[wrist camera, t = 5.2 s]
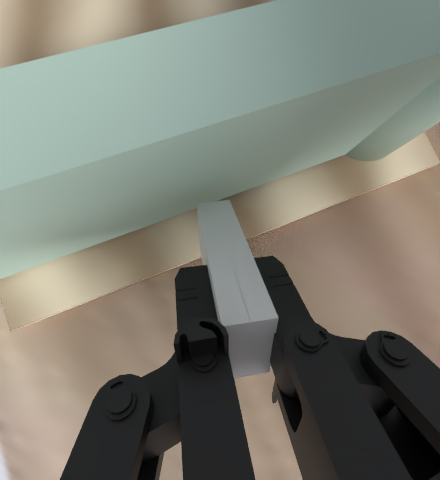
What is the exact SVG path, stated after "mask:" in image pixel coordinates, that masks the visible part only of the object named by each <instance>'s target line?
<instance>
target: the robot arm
mask: <svg viewBox="0 0 440 480" xmlns="http://www.w3.org/2000/svg"><path fill="white" fill-rule="evenodd" d="M197 216H198V229H199V242H200V253H201V258H202V264H203V265H202V266H194V267H186V268H180V270H179V272H178V274H177V276H176V278H175V290H176V310H177V329H178V331H177V333H176V334H175V340H174V348H175V353H174V354H173V356H172V358H171V359H170V360H169V361H168V362H167V363H166V364H165V365H163V366H162V367H160V368H159V369H157V370H155V371H153V372H151V373H149V374H147V375H145V376H143V377H139V376H136V375H132V374H126V375H119V376H117V377H115V378H113V379H111V380H109V381H108V382H107V383H106V384H105V385H104V386H103V387H102V388H101V389H99V391H98V393H97V394H96V396H95V398H94V399H93V401H92V404H91V406H90V408H89V411H88V413H87V416H86V418H85V420H84V423H83V425H82V428H81V430H80V433H79V435H78V437H77V440H76V442H75V445H74V447H73V449H72V452H71V454H70V457H69V459H68V461H67V464H66V466H65V469H64V471H63V473H62V476H61V478H60V480H159V476H160V471H161V466H162V461H163V456H164V452H165V451H167V450H168V449H170V448H171V447H173V446H174V445H176V444H178V443H179V442H181V445H182V465H183V480H255V476H254V471H253V466H252V462H251V457H250V452H249V447H248V443H247V438H246V433H245V429H244V424H243V419H242V414H241V410H240V405H239V400H238V396H237V391H236V386H235V381H234V378H238V377H244V376H249V375H255V374H261V373H266V372H269V370H270V364H271V366H272V369H273V372H274V375H275V382H274V387H273V392H272V401H273V403H276V401H277V399H278V402H279V405H280V408H281V412H282V415H283V418H284V421H285V424H286V427H287V431H288V434H289V437H290V440H291V443H292V446H293V450H294V453H295V456H296V459H297V462H298V465H299V469H300V472H301V475H302V478H303V480H440V368H438V367H437V366H436V365H435V364H434V363H433V362H432V361H431V360H430V359H428V358H427V357H426V356H425V355H424V354H423V353H422V352H421V351H420V350H418V349H417V348H416V347H415V346H414V345H413V344H412V343H410V342H409V341H408V340H406V339H405V338H403V337H402V336H400V335H397V334H395V333H392V332H388V331H377V332H373V333H372V334H370V335H369V336H368V337H367V339H366V341H365V340H358V339H351V338H344V337H339V336H335V335H332V334H330V333H328V331H327V330H326V329H325V328H323V327H322V326H320V325H319V324H317V323H315V322H314V320H313V319H312V318H311V316H310V314H309V312H308V310H307V308H306V306H305V304H304V303H303V301H302V299H301V297H300V295H299V293H298V291H297V289H296V288H295V286H294V285H293V282H292V280H291V278H290V277H289V274H288V273H287V271H286V269H285V267H284V265H283V264H282V263H281V262H280V261H279V260H277V259H276V258H275V257H274V256H268V257H260V258H254V257H253V255H252V253H251V250H250V248H249V245H248V243H247V241H246V238H245V236H244V233H243V231H242V229H241V226H240V224H239V221H238V219H237V216H236V214H235V212H234V209H233V207H232V204H231V202H230V200H223V201H212V202H202V203H197Z"/></svg>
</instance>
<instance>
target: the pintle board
mask: <svg viewBox="0 0 440 480" xmlns="http://www.w3.org/2000/svg"><path fill="white" fill-rule="evenodd" d="M271 1H275V0H0V68H4V67H9V66H13V65H17V64H21V63H25V62H29V61H33V60H37V59H41V58H45V57H49V56H53V55H57V54H61V53H65V52H69V51H73V50H77V49H81V48H85V47H89V46H93V45H97V44H101V43H106V42H110V41H114V40H118V39H122V38H126V37H130V36H134V35H138V34H142V33H146V32H150V31H154V30H158V29H162V28H166V27H170V26H174V25H178V24H182V23H186V22H190V21H194V20H199V19H203V18H207V17H211V16H215V15H219V14H223V13H227V12H231V11H235V10H239V9H243V8H247V7H251V6H255V5H259V4H263V3H267V2H271ZM439 163H440V161H439V159H438V157H437V155H436V153H435V151H434V149H433V148H432V146H431V144H430V142H429V140H428V138H427V136H426V134H425V132H423V133H422V134H420V135H419V136H417V137H415V138H414V139H412V140H411V141H409V142H408V143H406V144H405V145H403V146H401V147H400V148H398V149H397V150H395V151H394V152H392V153H390V154H389V155H387V156H386V157H384V158H382V159H379V160H376V161H360V160H356V159H353V158H351V157H349V156H347V155H343V156H340V157H337V158H334V159H331V160H329V161H326V162H323V163H320V164H318V165H315V166H312V167H309V168H307V169H304V170H301V171H298V172H296V173H293V174H290V175H287V176H284V177H282V178H279V179H276V180H273V181H271V182H268V183H265V184H262V185H260V186H257V187H254V188H251V189H248V190H246V191H243V192H240V193H237V194H235V195H232V196H229V197H226V198H224V199H221V200H218V201H223V200H230V202H231V204H232V207H233V209H234V212H235V214H236V216H237V219H238V221H239V224H240V226H241V229H242V231H243V233H244V236H245V238H246V240H247V239H250V238H252V237H255V236H257V235H260V234H262V233H265V232H268V231H270V230H273V229H275V228H278V227H280V226H283V225H285V224H288V223H290V222H293V221H296V220H298V219H301V218H303V217H306V216H308V215H311V214H313V213H316V212H319V211H321V210H324V209H326V208H329V207H331V206H334V205H336V204H339V203H341V202H344V201H347V200H349V199H352V198H354V197H357V196H359V195H362V194H364V193H367V192H370V191H372V190H375V189H377V188H380V187H382V186H385V185H387V184H390V183H392V182H395V181H398V180H400V179H403V178H405V177H408V176H410V175H413V174H415V173H418V172H421V171H423V170H426V169H428V168H430V167H433V166H435V165H437V164H439ZM199 258H201V253H200V242H199V229H198V216H197V208H196V209H193V210H190V211H188V212H185V213H182V214H179V215H176V216H174V217H171V218H168V219H165V220H163V221H160V222H157V223H154V224H152V225H149V226H146V227H143V228H141V229H138V230H135V231H132V232H129V233H127V234H124V235H121V236H118V237H116V238H113V239H110V240H107V241H105V242H102V243H99V244H96V245H93V246H91V247H88V248H85V249H82V250H80V251H77V252H74V253H71V254H69V255H66V256H63V257H60V258H57V259H55V260H52V261H49V262H46V263H44V264H41V265H38V266H35V267H33V268H30V269H27V270H24V271H21V272H19V273H16V274H13V275H10V276H8V277H5V278H2V279H0V299H1V303H2V306H3V309H4V312H5V315H6V319H7V322H8V325H9V328H10V331H13V330H16V329H20V328H23V327H25V326H28V325H30V324H33V323H36V322H38V321H41V320H43V319H46V318H48V317H51V316H53V315H56V314H58V313H61V312H64V311H66V310H69V309H71V308H74V307H76V306H79V305H81V304H84V303H87V302H89V301H92V300H94V299H97V298H99V297H102V296H104V295H107V294H109V293H112V292H115V291H117V290H120V289H122V288H125V287H127V286H130V285H132V284H135V283H137V282H140V281H143V280H145V279H148V278H150V277H153V276H155V275H158V274H160V273H163V272H166V271H168V270H171V269H173V268H176V267H178V266H181V265H183V264H186V263H188V262H191V261H194V260H196V259H199Z"/></svg>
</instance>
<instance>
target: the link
mask: <svg viewBox="0 0 440 480" xmlns="http://www.w3.org/2000/svg"><path fill="white" fill-rule="evenodd" d="M439 122H440V0H275V1H271V2H267V3H263V4H259V5H255V6H251V7H247V8H243V9H239V10H235V11H231V12H227V13H223V14H219V15H215V16H211V17H207V18H203V19H199V20H194V21H190V22H186V23H182V24H178V25H174V26H170V27H166V28H162V29H158V30H154V31H150V32H146V33H142V34H138V35H134V36H130V37H126V38H122V39H118V40H114V41H110V42H106V43H101V44H97V45H93V46H89V47H85V48H81V49H77V50H73V51H69V52H65V53H61V54H57V55H53V56H49V57H45V58H41V59H37V60H33V61H29V62H25V63H21V64H17V65H13V66H9V67H4V68H0V279H2V278H5V277H8V276H10V275H13V274H16V273H19V272H21V271H24V270H27V269H30V268H33V267H35V266H38V265H41V264H44V263H46V262H49V261H52V260H55V259H57V258H60V257H63V256H66V255H69V254H71V253H74V252H77V251H80V250H82V249H85V248H88V247H91V246H93V245H96V244H99V243H102V242H105V241H107V240H110V239H113V238H116V237H118V236H121V235H124V234H127V233H129V232H132V231H135V230H138V229H141V228H143V227H146V226H149V225H152V224H154V223H157V222H160V221H163V220H165V219H168V218H171V217H174V216H176V215H179V214H182V213H185V212H188V211H190V210H193V209H196V208H197V203H202V202H212V201H218V200H221V199H224V198H226V197H229V196H232V195H235V194H237V193H240V192H243V191H246V190H248V189H251V188H254V187H257V186H260V185H262V184H265V183H268V182H271V181H273V180H276V179H279V178H282V177H284V176H287V175H290V174H293V173H296V172H298V171H301V170H304V169H307V168H309V167H312V166H315V165H318V164H320V163H323V162H326V161H329V160H331V159H334V158H337V157H340V156H343V155H347V156H349V157H351V158H353V159H356V160H360V161H376V160H379V159H382V158H384V157H386V156H387V155H389V154H390V153H392V152H394V151H395V150H397V149H398V148H400V147H401V146H403V145H405V144H406V143H408V142H409V141H411V140H412V139H414V138H415V137H417V136H419V135H420V134H422V133H423V132H425V131H426V130H428V129H430V128H431V127H433V126H434V125H436V124H437V123H439Z"/></svg>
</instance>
